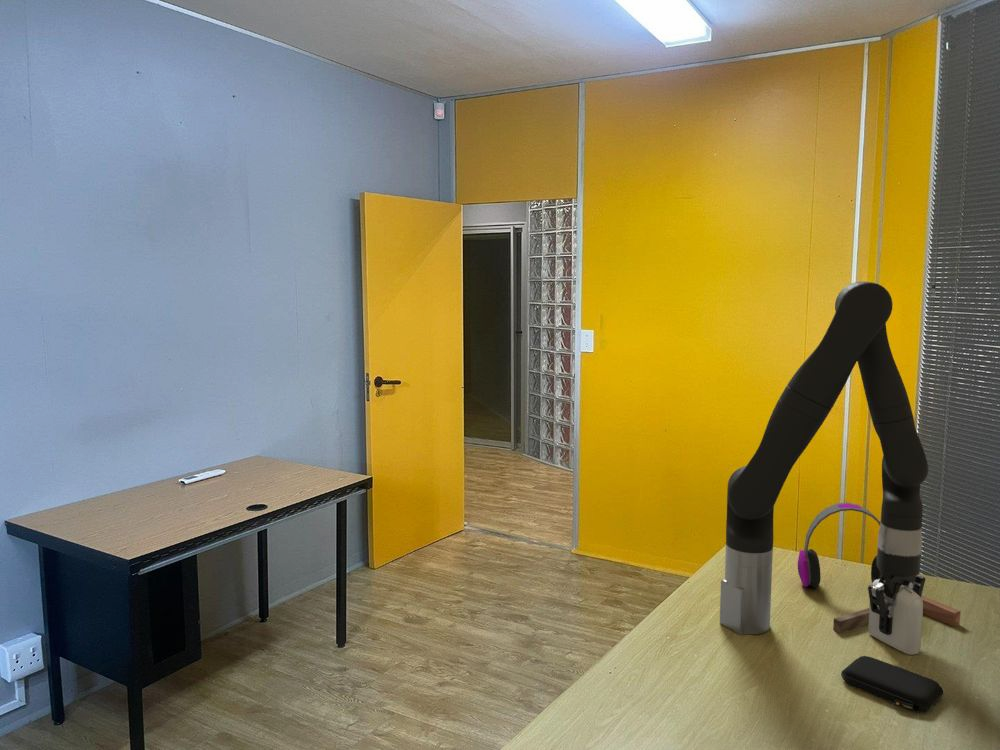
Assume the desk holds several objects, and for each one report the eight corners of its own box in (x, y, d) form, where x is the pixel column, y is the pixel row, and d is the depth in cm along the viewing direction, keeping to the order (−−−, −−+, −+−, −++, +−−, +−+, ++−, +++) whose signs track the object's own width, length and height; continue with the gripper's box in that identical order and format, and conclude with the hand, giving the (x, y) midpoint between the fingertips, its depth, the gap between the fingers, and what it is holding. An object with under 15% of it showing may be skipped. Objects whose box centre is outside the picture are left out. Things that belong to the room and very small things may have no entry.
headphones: (888, 585, 174) (894, 502, 171) (899, 601, 166) (905, 514, 163) (794, 577, 179) (798, 497, 176) (800, 593, 170) (804, 508, 168)
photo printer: (864, 633, 151) (867, 575, 149) (880, 629, 153) (883, 572, 151) (907, 657, 141) (911, 595, 140) (924, 653, 143) (928, 592, 141)
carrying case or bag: (833, 686, 133) (923, 723, 122) (834, 670, 132) (925, 705, 121) (859, 665, 140) (946, 697, 129) (860, 649, 139) (947, 681, 128)
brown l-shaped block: (877, 652, 144) (877, 637, 143) (833, 630, 153) (833, 616, 152) (959, 624, 154) (960, 610, 154) (913, 605, 163) (914, 592, 163)
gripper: (906, 535, 151) (900, 615, 153) (857, 547, 145) (852, 630, 147) (941, 547, 144) (935, 630, 146) (892, 560, 138) (886, 647, 140)
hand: (894, 630), depth 147 cm, fingers closed on photo printer, 4 cm apart
